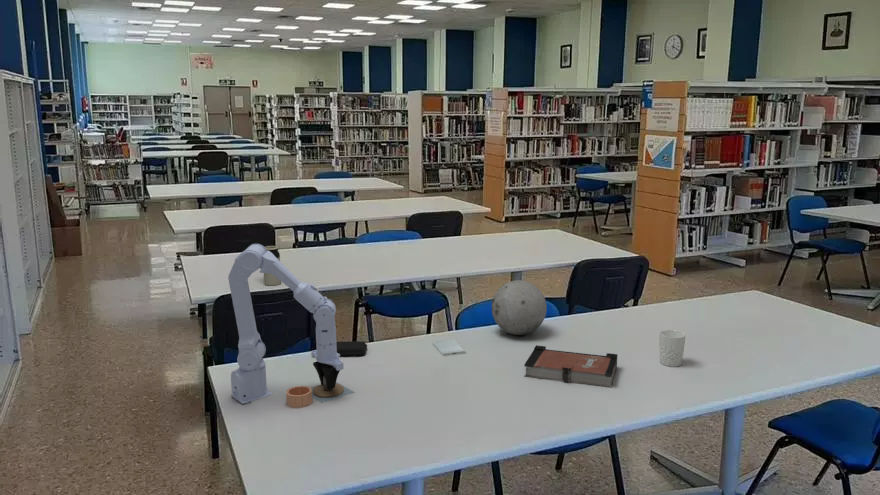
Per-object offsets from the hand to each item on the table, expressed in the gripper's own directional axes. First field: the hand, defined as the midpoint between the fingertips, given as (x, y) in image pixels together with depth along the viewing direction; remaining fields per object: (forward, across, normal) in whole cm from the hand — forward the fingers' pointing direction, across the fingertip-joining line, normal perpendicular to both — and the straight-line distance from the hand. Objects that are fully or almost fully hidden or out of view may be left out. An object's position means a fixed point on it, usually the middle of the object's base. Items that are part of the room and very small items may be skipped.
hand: (328, 386), depth 197 cm
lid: (+1, 0, 0) cm, 1 cm away
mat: (+2, 0, 0) cm, 2 cm away
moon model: (+2, 0, -81) cm, 81 cm away
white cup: (+2, -53, -96) cm, 110 cm away
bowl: (+2, -1, +10) cm, 10 cm away
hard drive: (+3, +5, -51) cm, 52 cm away
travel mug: (+2, +130, -48) cm, 139 cm away
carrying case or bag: (+3, +27, -23) cm, 35 cm away
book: (+3, -37, -66) cm, 75 cm away
